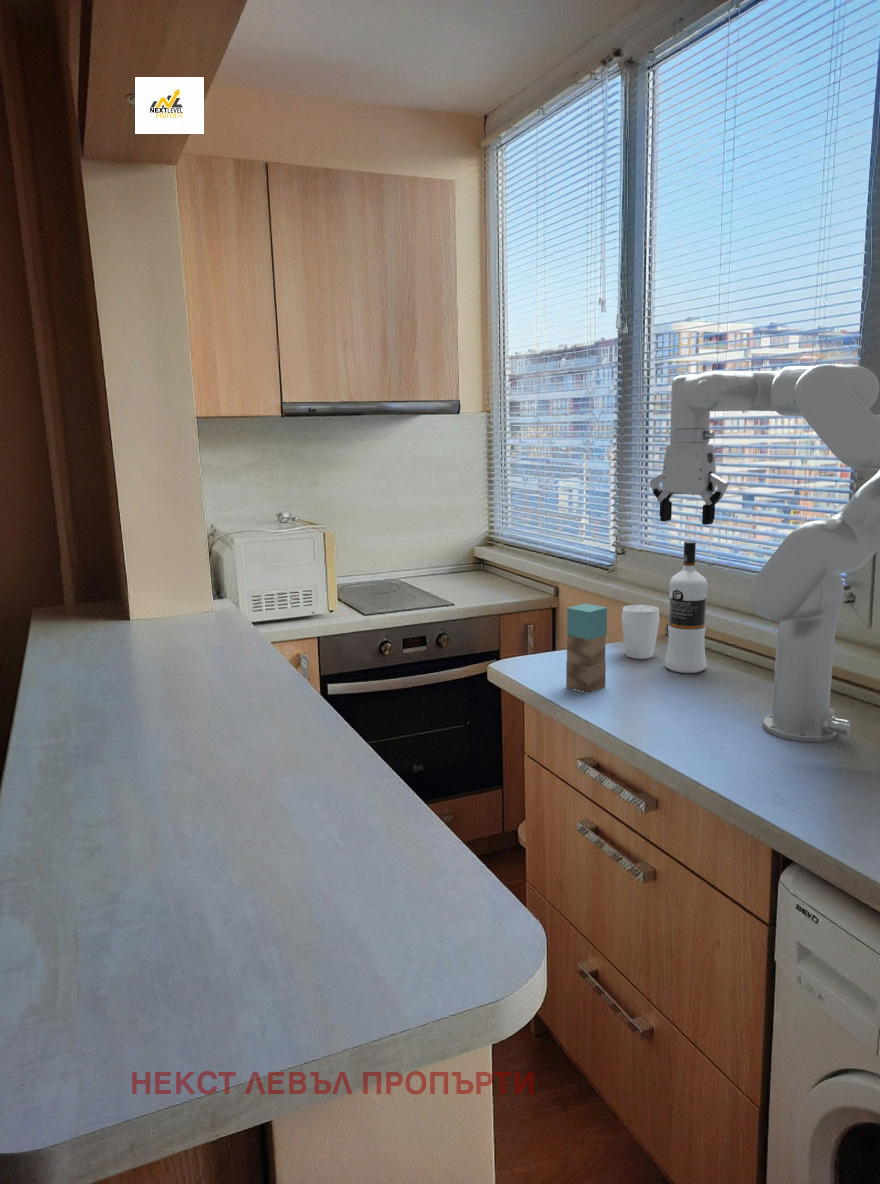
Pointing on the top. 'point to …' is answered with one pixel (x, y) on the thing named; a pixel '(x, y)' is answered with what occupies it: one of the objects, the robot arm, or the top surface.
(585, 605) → the teal block
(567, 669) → the tower base
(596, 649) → the tower mid
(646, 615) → the cup
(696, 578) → the vodka
